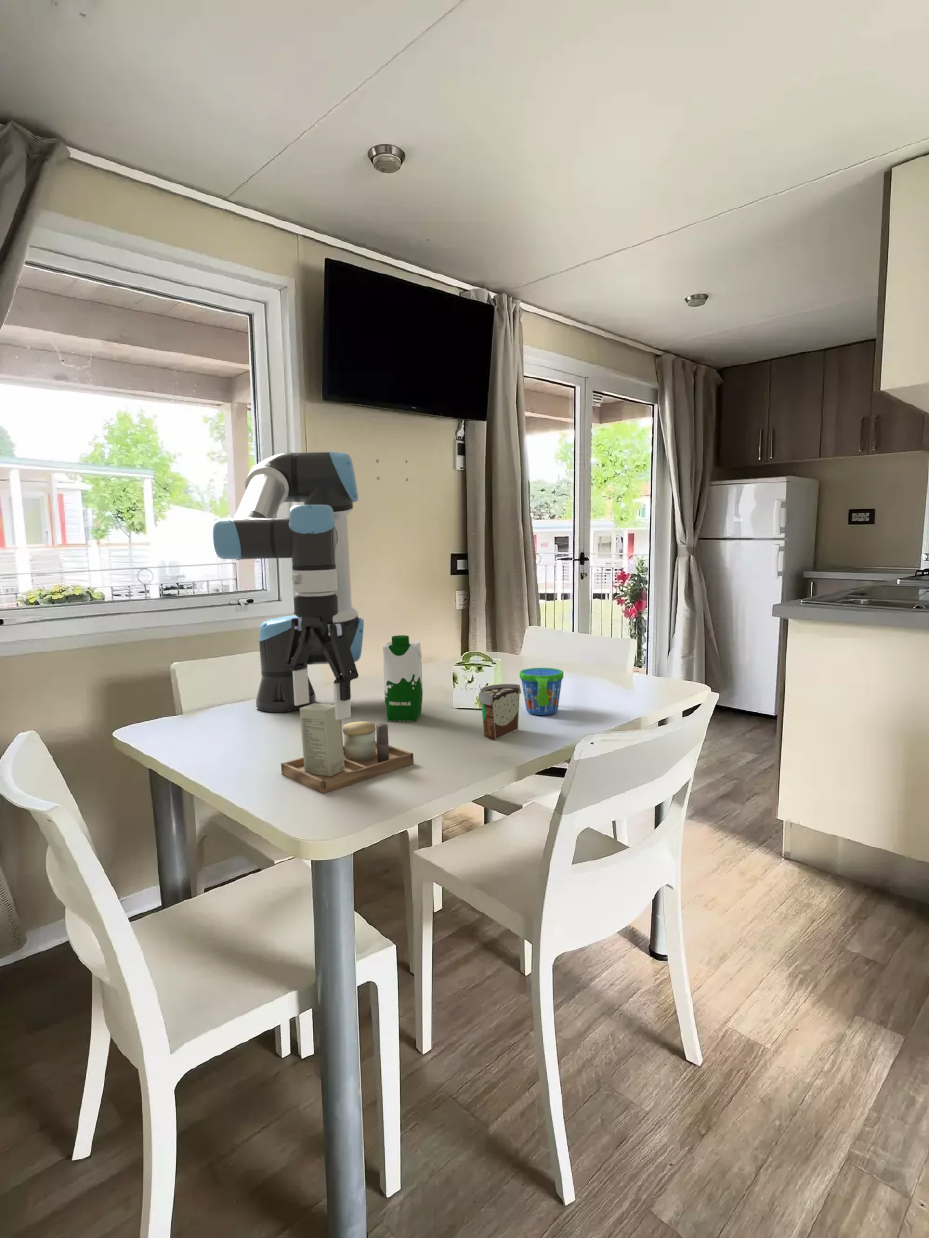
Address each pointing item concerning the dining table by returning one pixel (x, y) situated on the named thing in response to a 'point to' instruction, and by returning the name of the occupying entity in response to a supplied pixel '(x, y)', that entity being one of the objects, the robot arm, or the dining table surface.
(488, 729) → the food container
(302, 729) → the skincare box
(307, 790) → the dining table surface
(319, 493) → the robot arm
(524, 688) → the snack cup
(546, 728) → the dining table surface
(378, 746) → the organizer
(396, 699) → the milk carton
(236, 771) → the dining table surface
